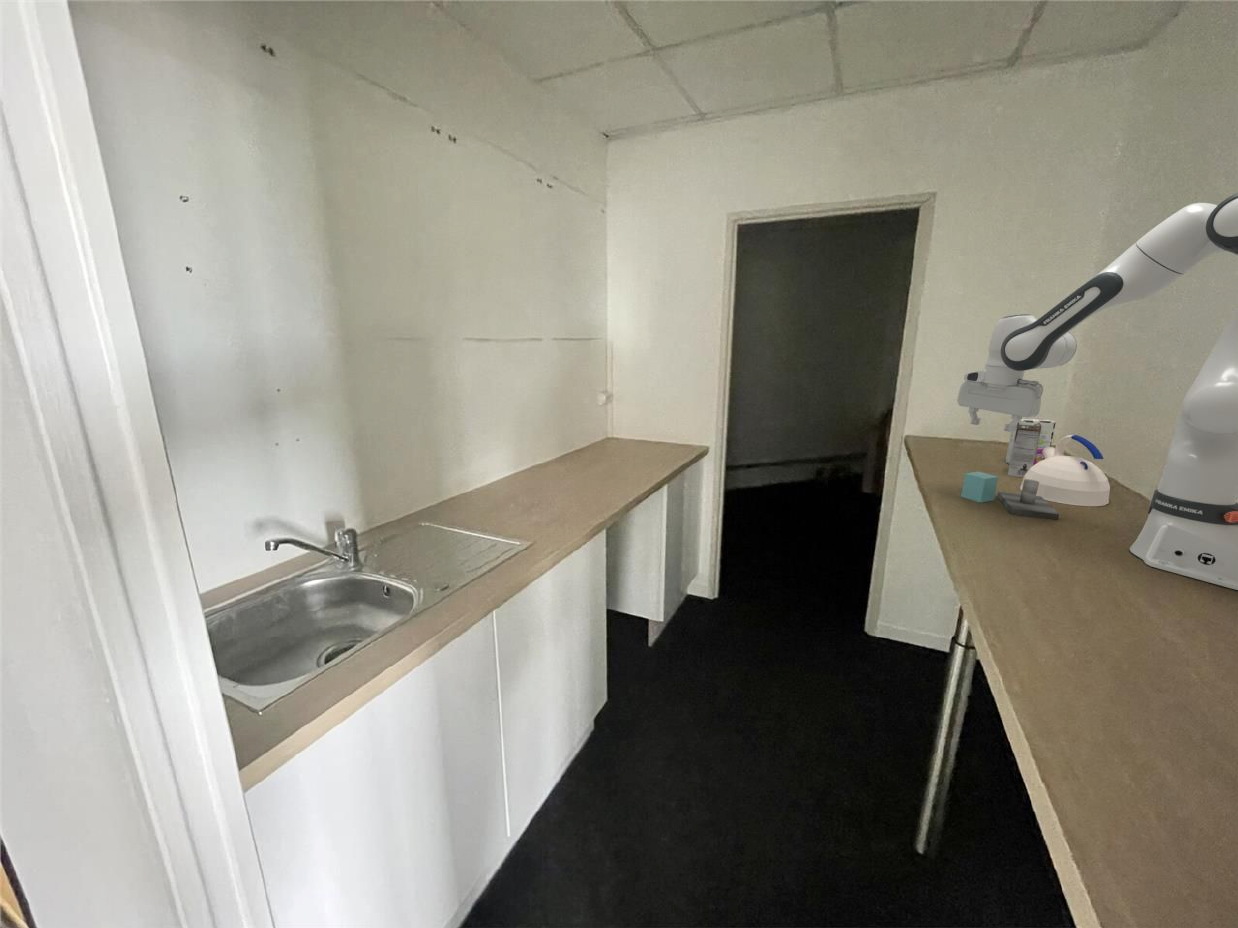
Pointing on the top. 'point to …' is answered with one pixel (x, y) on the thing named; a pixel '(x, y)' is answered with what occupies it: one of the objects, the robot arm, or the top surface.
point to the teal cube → (979, 486)
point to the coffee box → (1024, 449)
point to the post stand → (1028, 502)
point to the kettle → (1070, 476)
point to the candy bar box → (1044, 439)
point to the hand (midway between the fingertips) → (991, 427)
